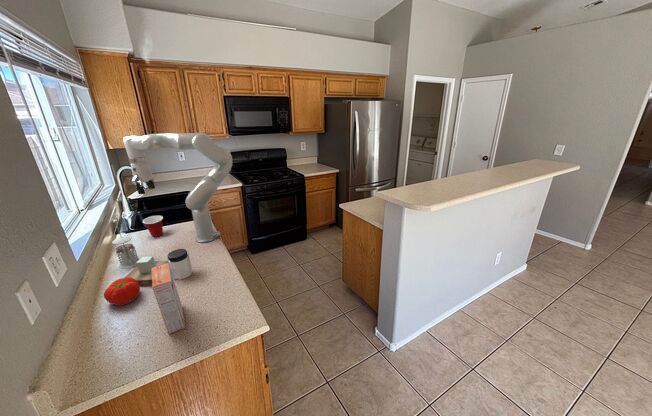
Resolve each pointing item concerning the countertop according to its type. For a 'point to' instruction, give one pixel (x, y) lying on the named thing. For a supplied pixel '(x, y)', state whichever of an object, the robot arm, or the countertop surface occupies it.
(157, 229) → the plastic cup
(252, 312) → the countertop surface
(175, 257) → the jar
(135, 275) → the walnut base
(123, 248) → the french press
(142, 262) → the sage block
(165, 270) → the cracker box
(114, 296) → the tomato
